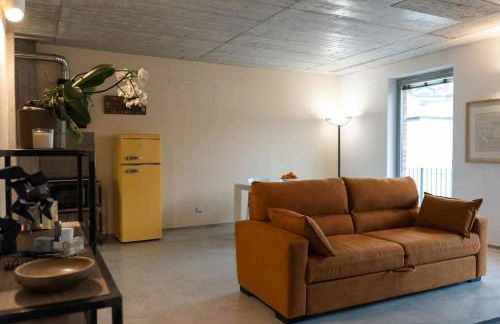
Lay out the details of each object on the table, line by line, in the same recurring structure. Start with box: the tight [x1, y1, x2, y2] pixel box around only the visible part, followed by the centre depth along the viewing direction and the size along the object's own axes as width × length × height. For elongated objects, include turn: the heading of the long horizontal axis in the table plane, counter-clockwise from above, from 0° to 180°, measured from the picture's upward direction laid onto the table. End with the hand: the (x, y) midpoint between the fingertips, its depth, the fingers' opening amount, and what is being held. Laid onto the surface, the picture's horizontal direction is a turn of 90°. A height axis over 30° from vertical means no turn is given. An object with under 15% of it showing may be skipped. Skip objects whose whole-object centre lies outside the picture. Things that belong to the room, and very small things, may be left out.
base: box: [30, 236, 88, 256], centre depth 170 cm, size 21×12×6 cm, turn 75°
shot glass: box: [62, 226, 75, 241], centre depth 190 cm, size 7×7×7 cm
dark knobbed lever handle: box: [51, 220, 64, 250], centre depth 171 cm, size 15×3×11 cm, turn 76°
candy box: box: [41, 200, 59, 230], centre depth 229 cm, size 9×4×15 cm, turn 175°
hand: (43, 220), depth 171 cm, fingers open, 9 cm apart
